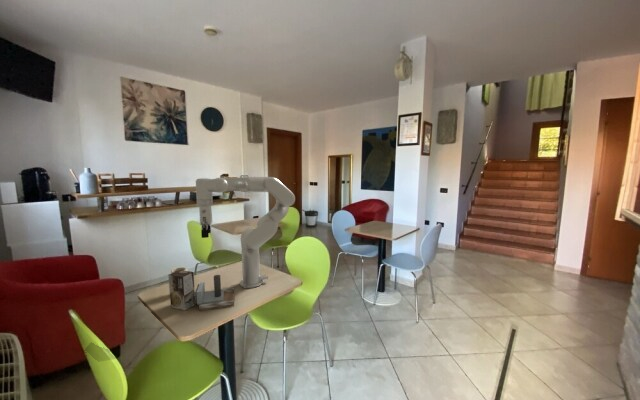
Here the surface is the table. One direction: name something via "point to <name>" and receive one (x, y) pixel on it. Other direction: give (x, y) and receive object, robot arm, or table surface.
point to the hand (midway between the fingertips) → (206, 235)
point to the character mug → (178, 269)
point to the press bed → (227, 301)
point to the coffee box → (182, 289)
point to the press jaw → (209, 293)
